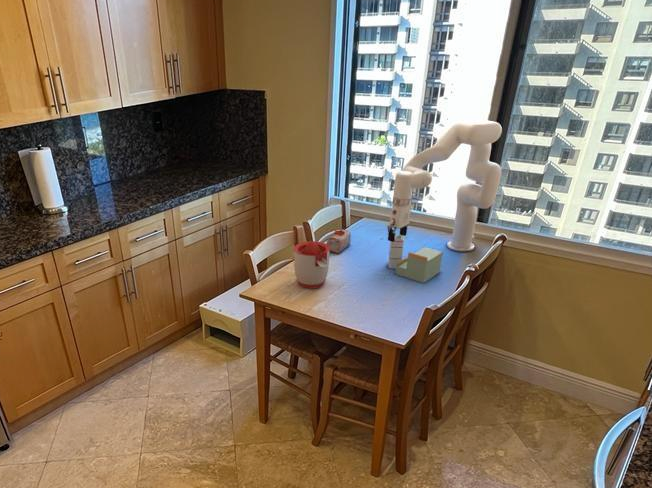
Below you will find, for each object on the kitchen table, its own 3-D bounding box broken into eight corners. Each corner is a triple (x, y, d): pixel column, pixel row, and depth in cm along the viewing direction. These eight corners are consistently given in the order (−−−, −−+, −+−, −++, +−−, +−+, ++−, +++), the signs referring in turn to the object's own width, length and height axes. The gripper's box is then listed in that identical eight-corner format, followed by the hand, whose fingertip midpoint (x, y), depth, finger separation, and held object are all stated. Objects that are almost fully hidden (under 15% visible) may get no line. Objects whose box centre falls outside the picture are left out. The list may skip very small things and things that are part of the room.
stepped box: (411, 264, 241) (415, 240, 234) (439, 272, 232) (443, 247, 226) (395, 274, 233) (398, 249, 226) (423, 282, 224) (427, 257, 218)
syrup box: (401, 268, 237) (404, 239, 229) (388, 268, 238) (391, 239, 230) (400, 263, 242) (404, 234, 234) (387, 263, 243) (390, 234, 235)
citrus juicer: (308, 295, 219) (309, 252, 208) (287, 280, 232) (286, 239, 222) (338, 286, 225) (340, 244, 214) (315, 272, 238) (316, 231, 227)
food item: (339, 255, 254) (340, 236, 248) (325, 252, 258) (325, 233, 252) (351, 245, 263) (352, 227, 258) (337, 243, 267) (338, 225, 262)
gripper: (398, 207, 216) (393, 245, 225) (419, 197, 226) (414, 234, 235) (383, 204, 221) (379, 241, 230) (404, 194, 231) (400, 231, 240)
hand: (396, 238), depth 232 cm, fingers open, 9 cm apart
